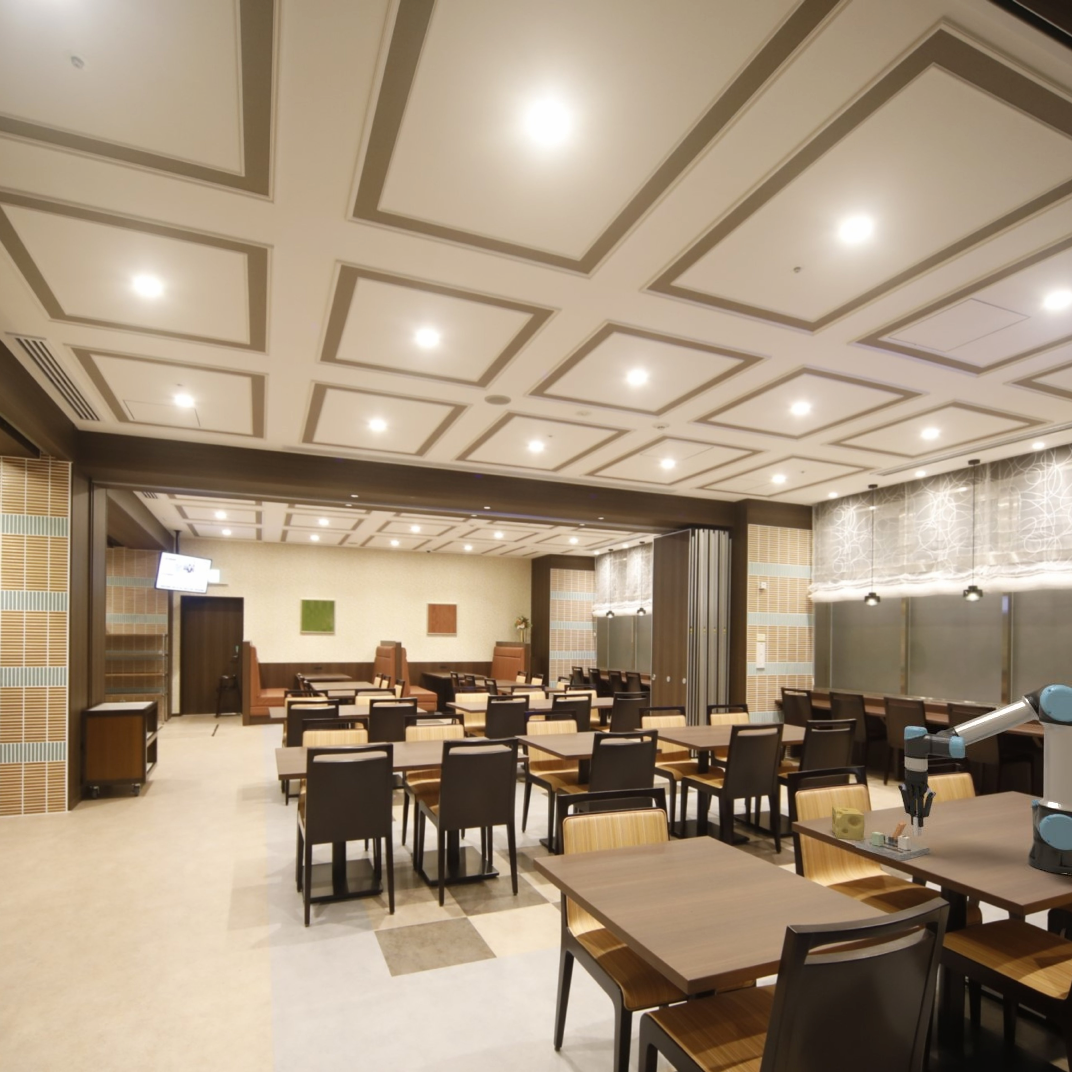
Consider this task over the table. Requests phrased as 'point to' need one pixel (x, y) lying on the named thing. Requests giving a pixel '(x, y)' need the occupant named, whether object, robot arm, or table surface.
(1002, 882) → the table surface
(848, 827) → the cheese
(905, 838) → the slider ivory
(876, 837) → the slider sage
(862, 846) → the panel
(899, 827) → the lever orange
